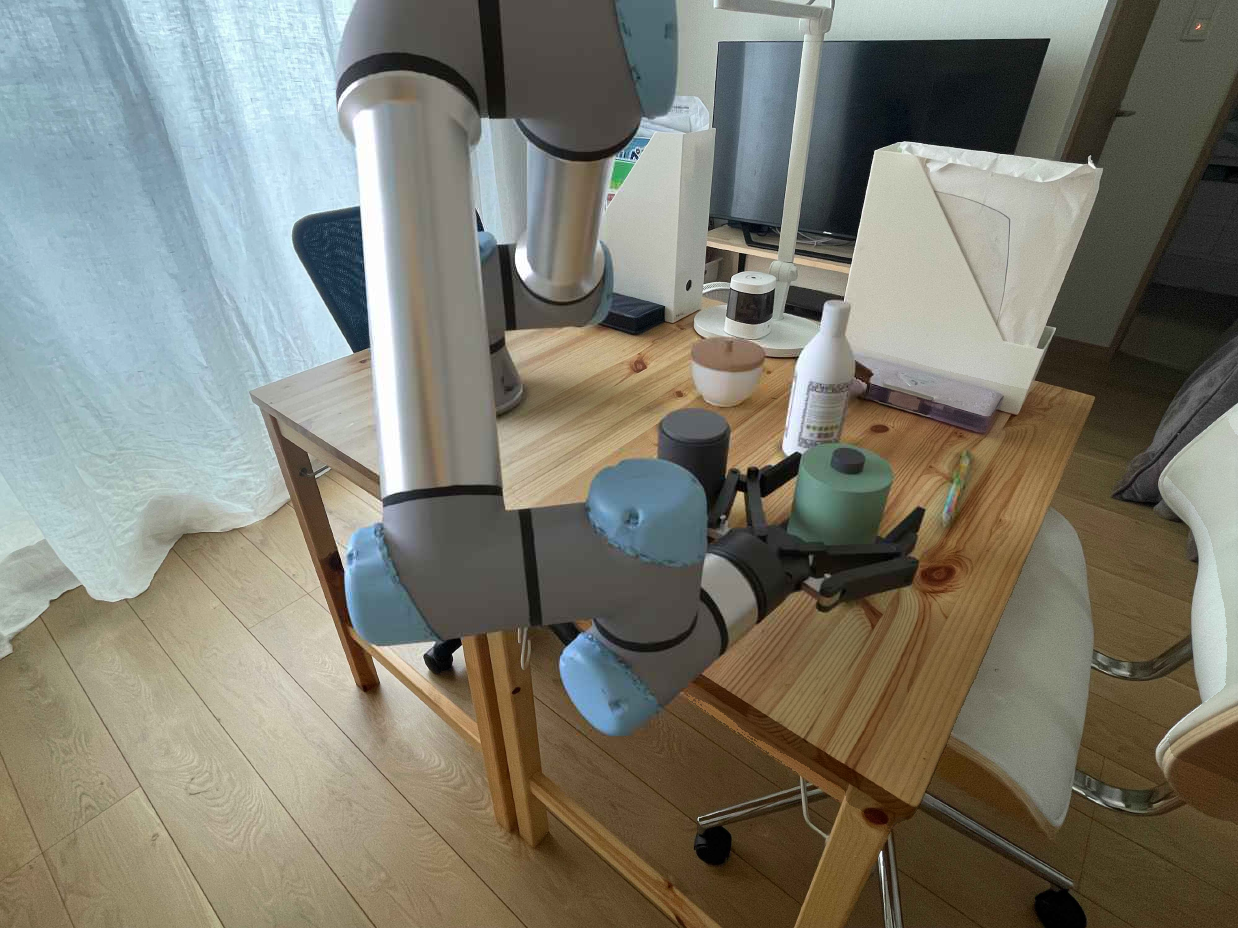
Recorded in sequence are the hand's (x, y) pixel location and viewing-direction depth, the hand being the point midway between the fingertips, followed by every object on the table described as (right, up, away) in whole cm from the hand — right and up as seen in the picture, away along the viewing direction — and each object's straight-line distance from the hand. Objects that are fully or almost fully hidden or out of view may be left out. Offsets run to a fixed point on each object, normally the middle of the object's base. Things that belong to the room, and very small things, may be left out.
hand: (854, 488), depth 65 cm
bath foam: (+1, +4, +18) cm, 18 cm away
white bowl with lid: (-8, +12, +31) cm, 34 cm away
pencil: (+16, -1, +10) cm, 19 cm away
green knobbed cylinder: (-2, -6, +1) cm, 7 cm away
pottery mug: (+8, +12, +31) cm, 34 cm away
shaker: (-17, -4, +5) cm, 18 cm away
